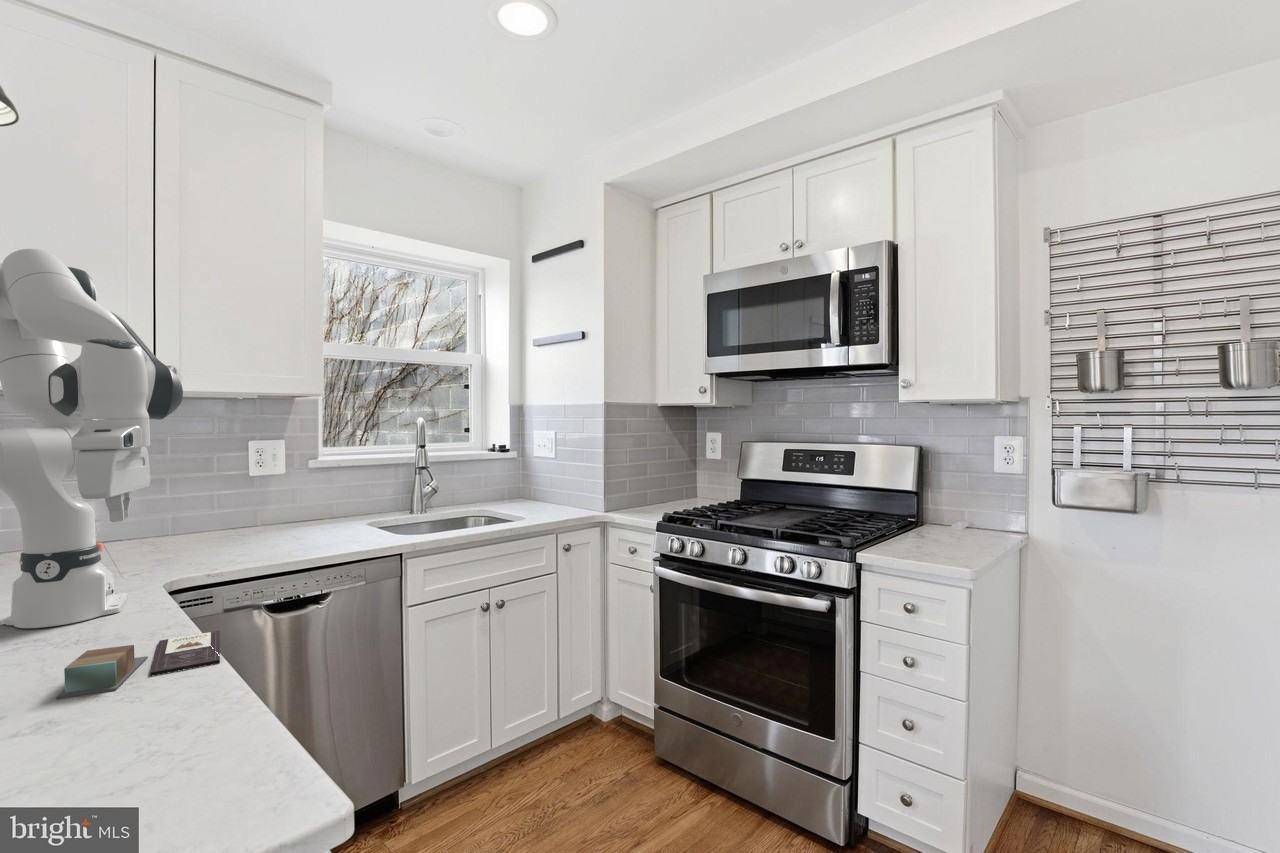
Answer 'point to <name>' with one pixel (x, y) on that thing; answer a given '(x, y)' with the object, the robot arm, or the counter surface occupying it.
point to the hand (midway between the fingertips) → (119, 520)
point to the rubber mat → (103, 689)
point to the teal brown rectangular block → (99, 668)
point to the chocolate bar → (186, 652)
